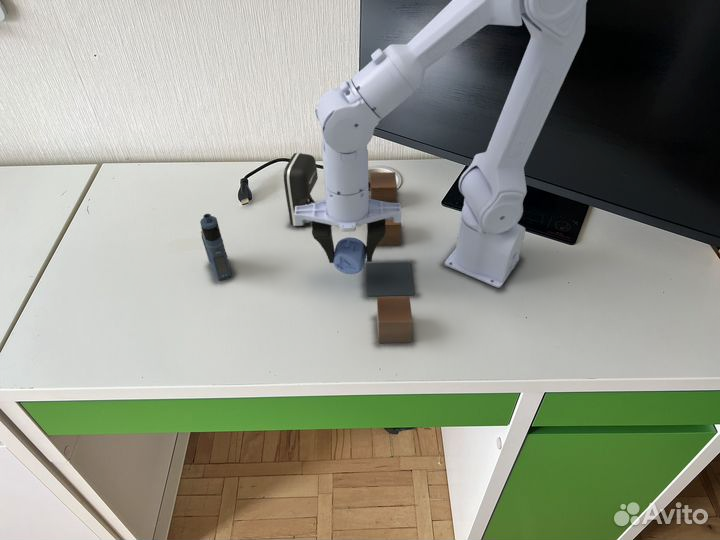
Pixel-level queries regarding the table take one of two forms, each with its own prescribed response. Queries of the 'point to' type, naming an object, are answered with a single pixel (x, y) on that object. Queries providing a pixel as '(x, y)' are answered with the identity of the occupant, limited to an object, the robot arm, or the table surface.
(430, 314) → the table surface
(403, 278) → the pad
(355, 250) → the decorative dice
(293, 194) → the battery charger
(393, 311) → the block near
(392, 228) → the block mid
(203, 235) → the vaping device
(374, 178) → the block far
